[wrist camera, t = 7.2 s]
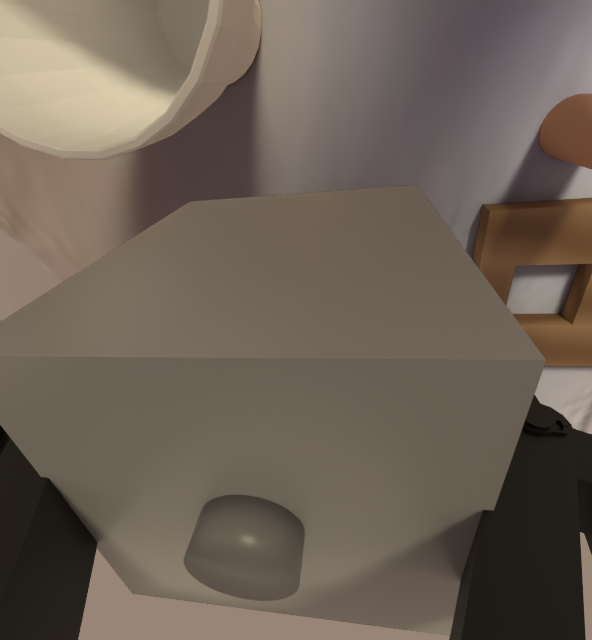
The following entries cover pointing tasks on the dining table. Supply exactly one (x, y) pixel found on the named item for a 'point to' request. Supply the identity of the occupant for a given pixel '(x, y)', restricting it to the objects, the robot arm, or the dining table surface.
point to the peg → (569, 131)
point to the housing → (278, 404)
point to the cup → (116, 69)
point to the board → (543, 249)
